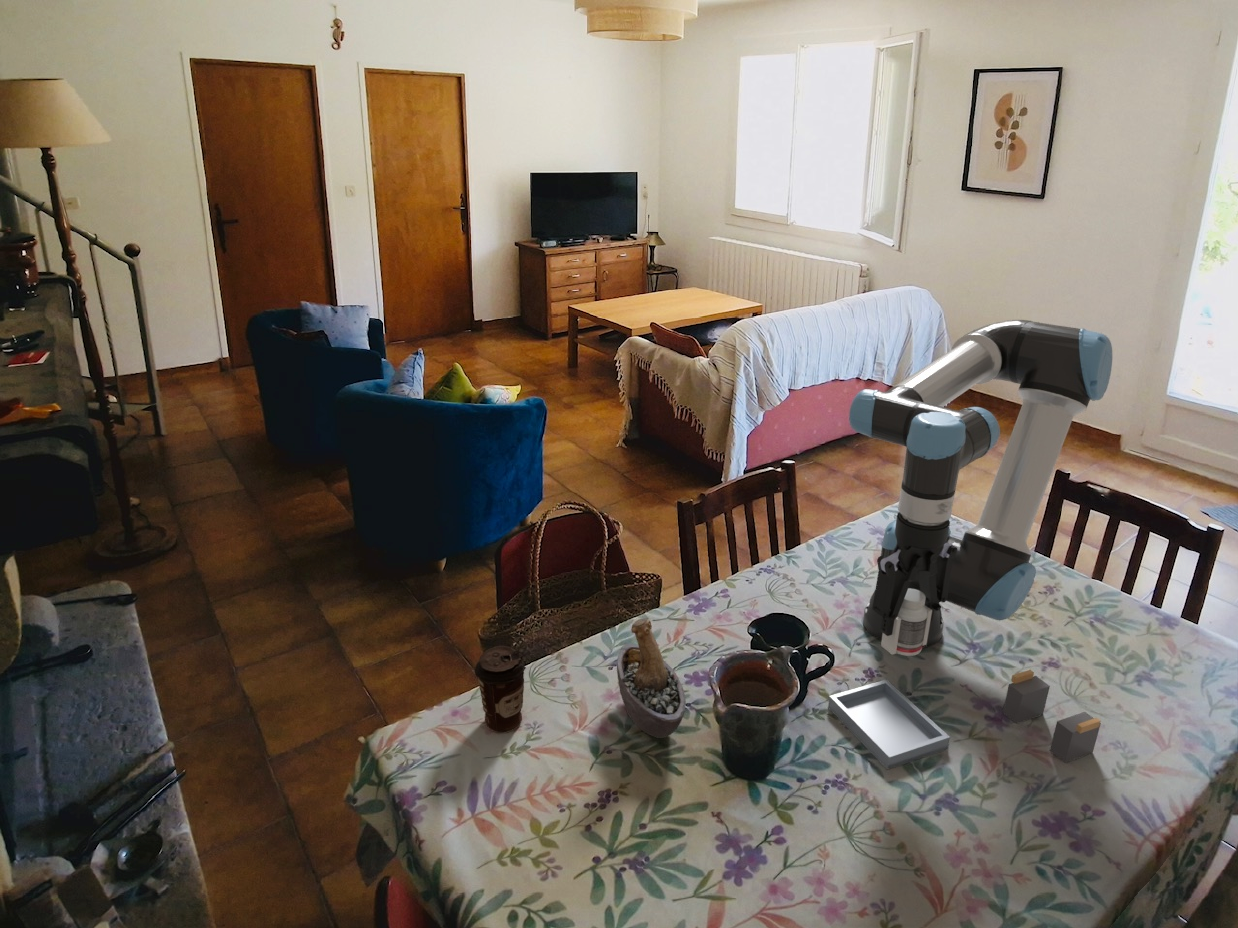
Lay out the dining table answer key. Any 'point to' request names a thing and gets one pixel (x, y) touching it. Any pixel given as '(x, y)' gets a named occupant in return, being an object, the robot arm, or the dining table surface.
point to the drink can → (501, 687)
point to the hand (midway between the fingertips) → (903, 644)
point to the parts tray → (888, 723)
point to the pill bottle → (912, 623)
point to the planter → (649, 684)
